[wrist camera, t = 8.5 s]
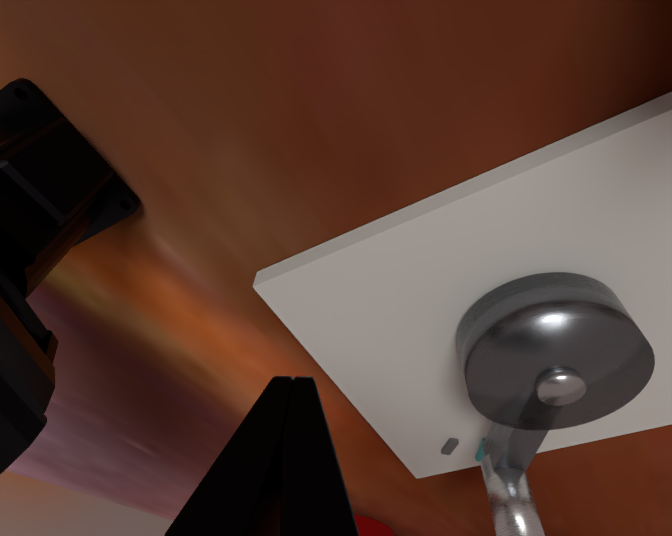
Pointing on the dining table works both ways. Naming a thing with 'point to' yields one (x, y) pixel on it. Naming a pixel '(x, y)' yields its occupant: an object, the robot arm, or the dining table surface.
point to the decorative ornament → (372, 527)
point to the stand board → (488, 283)
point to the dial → (544, 375)
